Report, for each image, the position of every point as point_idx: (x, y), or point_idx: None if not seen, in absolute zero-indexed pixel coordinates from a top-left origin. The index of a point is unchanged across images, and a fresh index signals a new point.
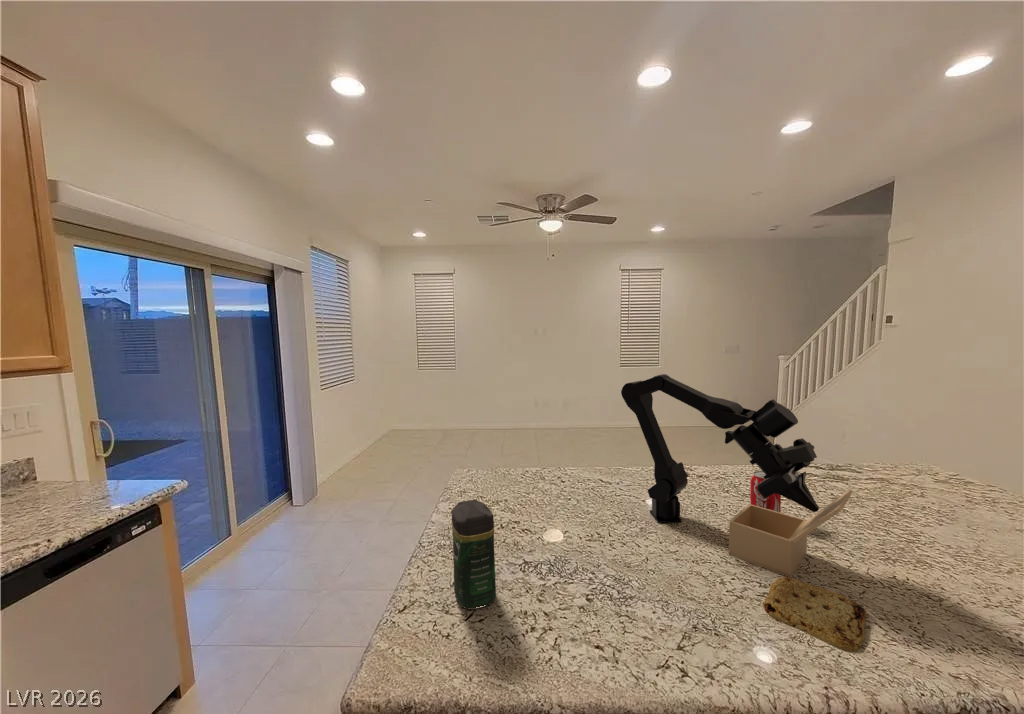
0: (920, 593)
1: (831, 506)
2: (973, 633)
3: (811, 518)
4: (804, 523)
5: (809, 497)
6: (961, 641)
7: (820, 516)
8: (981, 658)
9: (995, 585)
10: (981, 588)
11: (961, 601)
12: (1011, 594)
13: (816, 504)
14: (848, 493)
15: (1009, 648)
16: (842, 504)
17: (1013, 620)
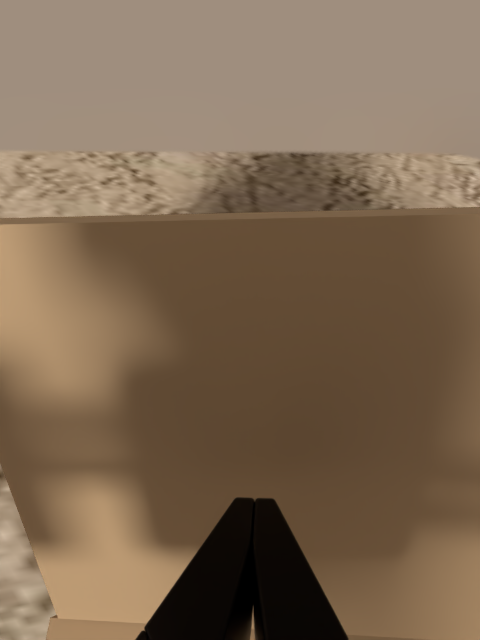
0: None
1: (196, 395)
2: (293, 194)
3: (108, 581)
4: (118, 624)
5: (294, 605)
6: (348, 206)
7: (322, 474)
8: (383, 184)
9: (29, 172)
10: (62, 188)
11: (159, 210)
12: (56, 155)
13: (233, 521)
14: (59, 221)
15: (299, 157)
16: (453, 212)
17: (176, 153)
